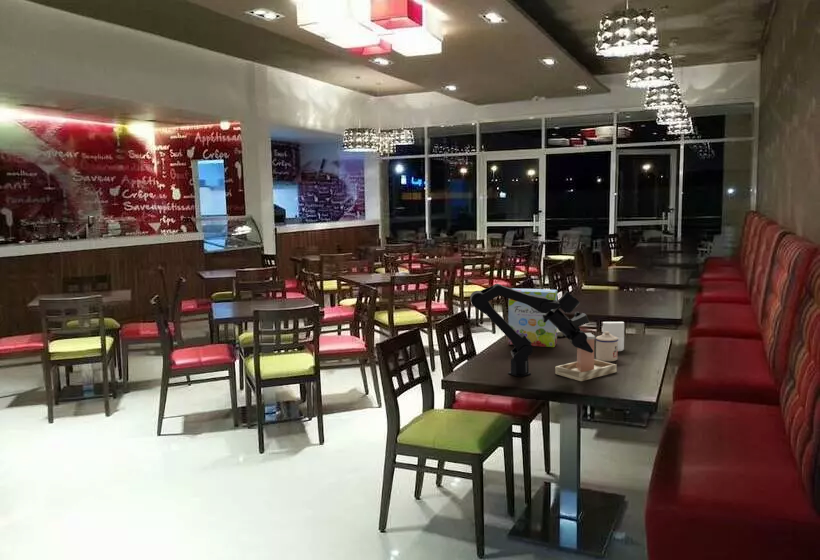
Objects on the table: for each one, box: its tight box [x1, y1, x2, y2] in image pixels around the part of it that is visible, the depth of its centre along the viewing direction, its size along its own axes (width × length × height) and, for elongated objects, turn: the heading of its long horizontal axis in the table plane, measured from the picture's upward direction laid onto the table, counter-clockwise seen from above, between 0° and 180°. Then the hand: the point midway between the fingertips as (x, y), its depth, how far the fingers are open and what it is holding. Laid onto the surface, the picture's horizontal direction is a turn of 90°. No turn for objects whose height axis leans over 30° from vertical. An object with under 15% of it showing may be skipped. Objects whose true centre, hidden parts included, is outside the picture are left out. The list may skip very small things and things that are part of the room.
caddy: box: [576, 332, 596, 372], centre depth 260 cm, size 6×7×14 cm
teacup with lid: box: [595, 332, 619, 362], centre depth 282 cm, size 12×9×12 cm
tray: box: [554, 358, 618, 382], centre depth 261 cm, size 20×13×3 cm, turn 124°
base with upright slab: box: [602, 321, 625, 352], centre depth 297 cm, size 9×9×12 cm
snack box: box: [507, 287, 558, 348], centre depth 309 cm, size 22×9×26 cm, turn 72°
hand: (589, 349), depth 260 cm, fingers open, 9 cm apart
